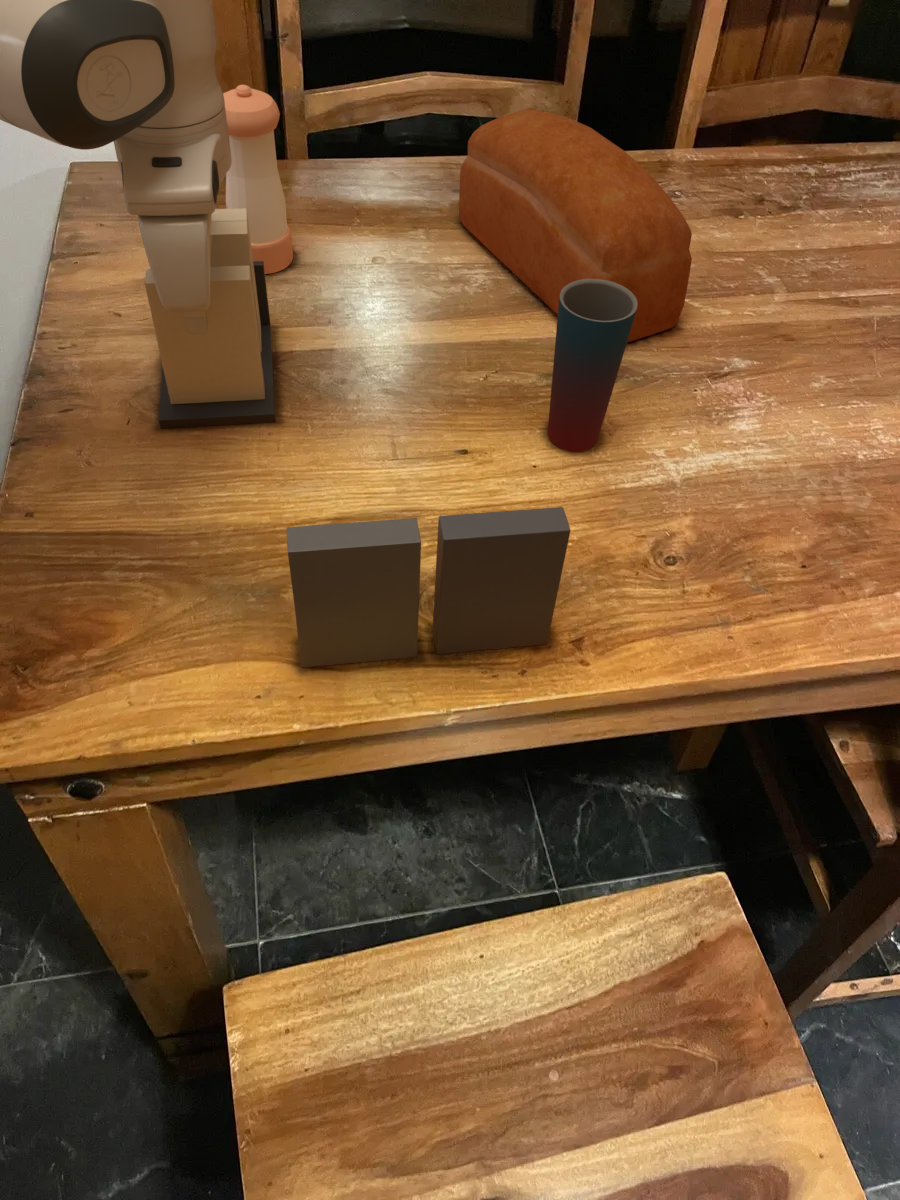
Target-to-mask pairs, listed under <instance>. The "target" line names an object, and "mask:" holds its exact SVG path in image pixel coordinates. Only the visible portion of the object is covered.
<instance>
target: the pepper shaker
mask: <svg viewBox="0 0 900 1200" xmlns="http://www.w3.org/2000/svg"><path fill="white" fill-rule="evenodd" d="M223 96H224V101H225V109H226V118H227V126H228V134H229V142H230V150H231V159H232V164H231V167H230V169H229V171H228V172H227V173H226V174H225V206H226V207H225V208H226V209H243V208H246V209H247V215H248V223H249V231H250V239H251V248H252V256H253V261H263V262H264V270H265V275H267V274H269V275H270V274H274V273H278V272H280V271H283V270H285V269H286V268H288V267H289V266H290V265H291V264H292V262H293V259H294V252H293V242H292V241H293V240H292V230H291V228H290V225H289V224H288V222H287V205H286V204H287V203H286V197H285V192H284V189H283V185H282V181H281V177H280V173H279V172H280V171H279V169H278V160H277V151H276V140H275V129H277V128H278V127H277V126H278V124H279V120H280V115H281V112H280V110H279V107H278V104H277V102H276V101H275V99H273V97H272V95H270V94H268V93H266V92H264V91H261V90H259V89H256V88H251V87H250V86H249V85H247V84H239V85H237V86H236V87H235V88H233V89H230V90H227V91H225V92H223Z"/></svg>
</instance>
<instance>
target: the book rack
mask: <svg viewBox="0 0 900 1200" xmlns="http://www.w3.org/2000/svg"><path fill="white" fill-rule="evenodd" d="M223 266H250V273H251V281H252V289H253V297H254V305H255V313H256V321H257V329H258V337H259V345H260V353H261V361H262V369H263V377H264V387H265V399H262V400H243V401H224V402H206V403H187V404H171V401H170V396H169V392H168V387H167V383H166V378H165V374H164V369H163V365H161V379H160V381H161V382H160V391H159V404H158V417H157V421H158V425H159V429H169V428H170V429H173V428H189V427H191V428H192V427H207V426H223V425H224V426H225V425H241V424H242V425H243V424H259V423H260V424H261V423H275V422H276V420H277V419H276V403H275V402H276V401H275V384H274V381H275V380H274V359H273V340H272V325H271V317H270V308H269V299H268V290H267V289H268V287H267V279H266V274H265V270H264V262H263V261H253V256H252V248H251V239H250V231H249V223H248V215H247V209H246V208H243V209H227V208H215V211H214V213H212V229H211V267H223Z"/></svg>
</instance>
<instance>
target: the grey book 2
mask: <svg viewBox="0 0 900 1200" xmlns="http://www.w3.org/2000/svg"><path fill="white" fill-rule="evenodd" d="M437 520H438V521H437V522H438V523H437V539H436V540H437V541H436V559H435V575H434V577H435V578H434V595H433V596H434V597H433V612H432V613H433V615H432V631H431V632H432V637H433V644H434V648H435V649H434V650H435V653H436V655H444V654H457V653H466V652H477V651H488V650H489V651H490V650H498V649H499V650H500V649H508V648H509V649H510V648H522V647H531V646H532V647H533V646H541V645H543V646H544V645H547V644H548V641H549V636H550V631H551V627H552V621H553V618H554V613H555V607H556V603H557V598H558V594H559V589H560V583H561V578H562V574H563V568H564V564H565V559H566V554H567V549H568V545H569V540H570V536H571V527H570V525H569V520H568V518H567V515H566V512H565V509H564V507H563V506H558V507H557V506H555V507H545V508H544V507H543V508H530V509H528V508H527V509H517V510H515V509H514V510H502V511H501V510H500V511H490V512H474V513H473V512H472V513H461V514H447V515H446V514H445V515H439V516H438V519H437Z"/></svg>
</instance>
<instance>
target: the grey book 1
mask: <svg viewBox="0 0 900 1200" xmlns="http://www.w3.org/2000/svg"><path fill="white" fill-rule="evenodd" d="M286 544H287V545H286V547H287V558H288V566H289V574H290V583H291V590H292V598H293V599H292V600H293V607H294V616H295V623H296V631H297V641H298V647H299V648H298V649H299V656H300V664H301V668H313V667H323V666H337V665H345V664H357V663H367V662H379V661H390V660H400V659H411V658H418V640H419V613H420V611H419V610H420V589H421V587H420V585H421V584H420V583H421V559H422V556H421V555H422V539H421V535H420V528H419V524H418V519H417V517H411V518H398V519H397V518H396V519H381V520H369V521H356V522H343V523H341V522H340V523H329V524H328V523H327V524H313V525H300V526H286Z"/></svg>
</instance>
